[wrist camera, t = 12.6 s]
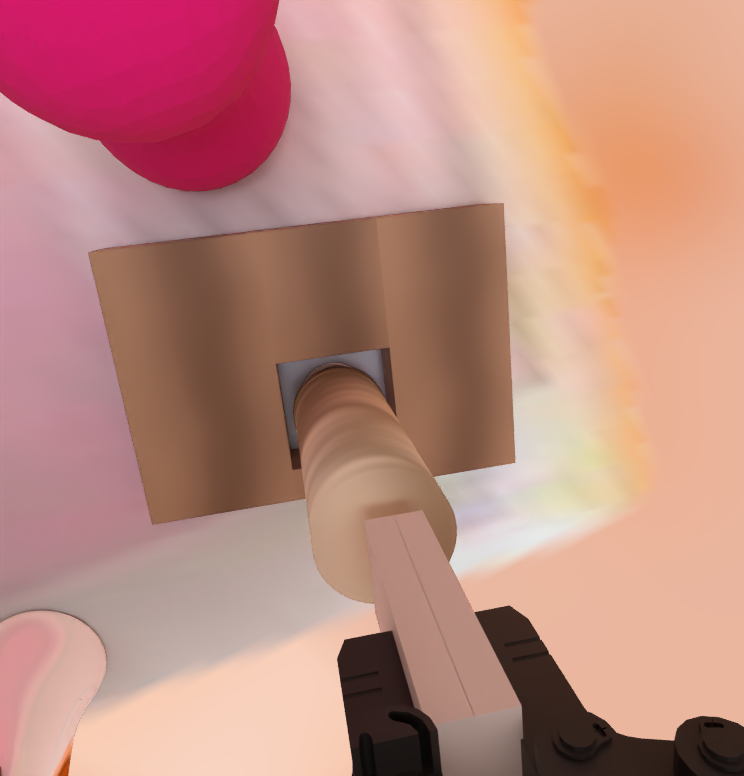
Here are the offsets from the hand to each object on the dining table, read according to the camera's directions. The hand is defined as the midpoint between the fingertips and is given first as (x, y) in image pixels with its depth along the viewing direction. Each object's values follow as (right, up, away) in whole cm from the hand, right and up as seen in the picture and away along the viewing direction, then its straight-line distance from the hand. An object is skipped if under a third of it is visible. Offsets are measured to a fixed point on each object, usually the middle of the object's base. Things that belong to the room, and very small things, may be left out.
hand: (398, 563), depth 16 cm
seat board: (-3, +6, +14) cm, 15 cm away
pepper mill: (-8, +16, +10) cm, 21 cm away
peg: (-3, +4, +14) cm, 15 cm away
